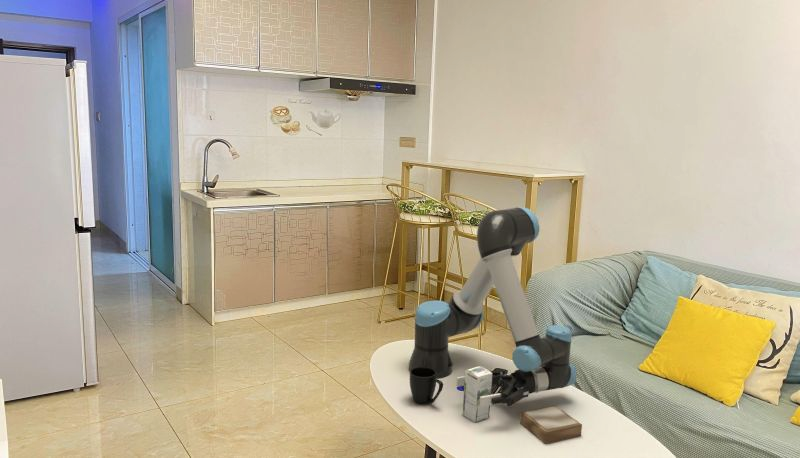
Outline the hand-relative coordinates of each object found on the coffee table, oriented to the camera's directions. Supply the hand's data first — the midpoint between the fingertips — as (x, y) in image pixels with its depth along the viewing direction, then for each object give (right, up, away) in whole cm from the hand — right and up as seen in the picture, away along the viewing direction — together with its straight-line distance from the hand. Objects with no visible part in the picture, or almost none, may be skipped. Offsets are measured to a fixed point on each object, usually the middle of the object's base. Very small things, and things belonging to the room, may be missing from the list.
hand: (468, 391), depth 175 cm
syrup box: (+3, -8, +3) cm, 9 cm away
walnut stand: (+23, -10, -4) cm, 25 cm away
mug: (-12, -7, +11) cm, 17 cm away
